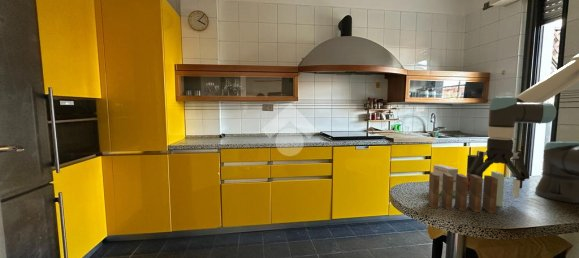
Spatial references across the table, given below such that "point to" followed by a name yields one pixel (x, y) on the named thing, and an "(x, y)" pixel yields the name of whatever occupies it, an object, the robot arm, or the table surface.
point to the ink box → (440, 170)
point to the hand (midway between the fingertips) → (496, 195)
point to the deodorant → (469, 163)
